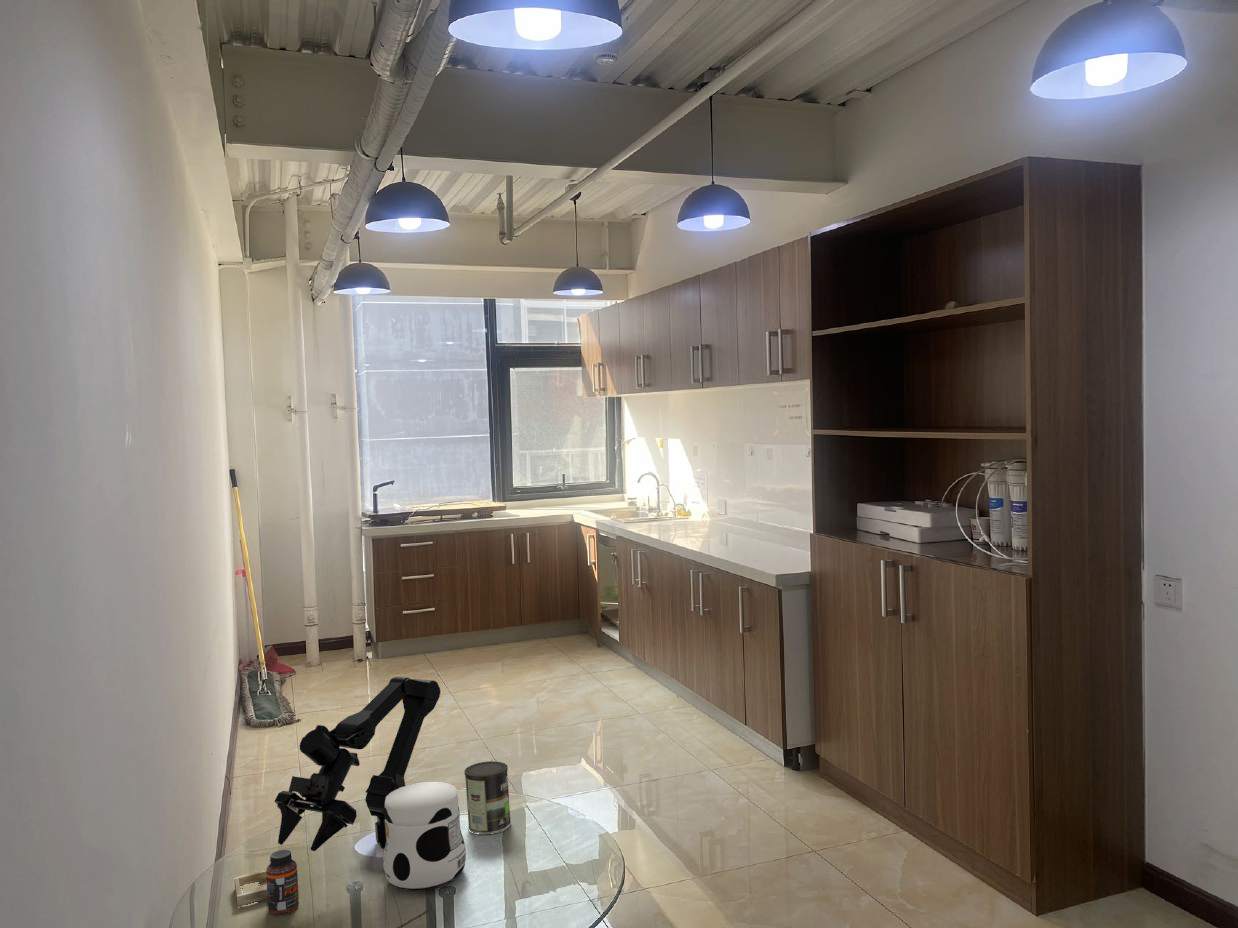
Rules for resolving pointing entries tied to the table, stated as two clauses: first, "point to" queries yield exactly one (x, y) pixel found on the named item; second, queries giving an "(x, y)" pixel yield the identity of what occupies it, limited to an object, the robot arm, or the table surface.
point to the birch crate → (255, 895)
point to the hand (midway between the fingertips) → (295, 847)
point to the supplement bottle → (282, 883)
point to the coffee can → (487, 797)
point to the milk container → (423, 836)
